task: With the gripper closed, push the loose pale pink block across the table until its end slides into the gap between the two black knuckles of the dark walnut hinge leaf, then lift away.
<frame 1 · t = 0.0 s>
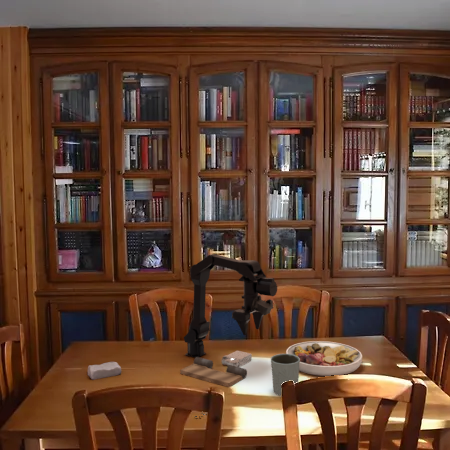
hand: (251, 332, 200), 15 cm above the table, tool pointing down, fingers open, 9 cm apart
stone block: (103, 374, 198), on the table
gray green cup: (285, 392, 179), on the table
walnut leaf: (211, 375, 193), on the table
bowl: (323, 365, 205), on the table
hatchet: (212, 406, 169), on the table
pale pink block: (238, 362, 208), on the table
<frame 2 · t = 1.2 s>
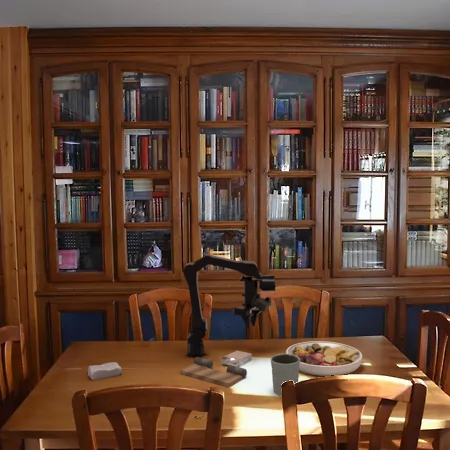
hand: (251, 327, 215), 12 cm above the table, tool pointing down, fingers open, 4 cm apart
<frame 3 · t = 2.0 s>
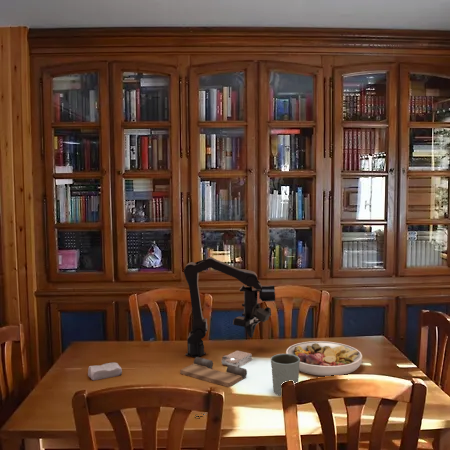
hand: (250, 337, 216), 8 cm above the table, tool pointing down, fingers closed
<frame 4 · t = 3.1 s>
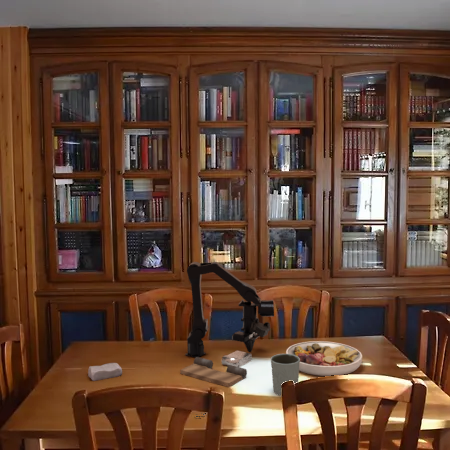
hand: (250, 352, 215), 1 cm above the table, tool pointing down, fingers closed
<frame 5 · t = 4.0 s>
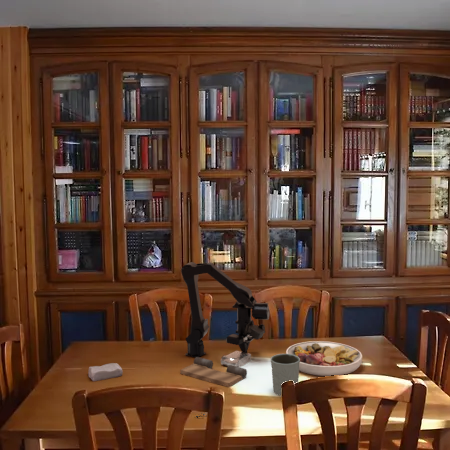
hand: (244, 354, 212), 2 cm above the table, tool pointing down, fingers closed
pale pink block: (237, 362, 207), on the table, touching gripper
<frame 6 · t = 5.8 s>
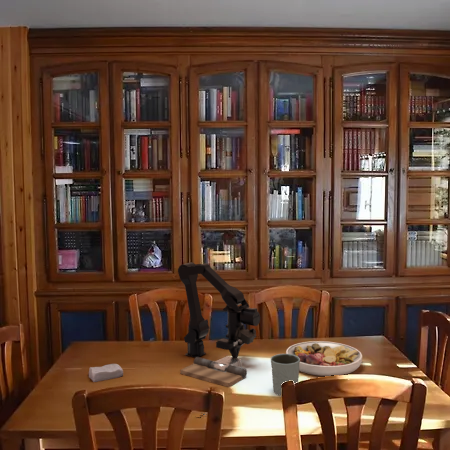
hand: (235, 359, 206), 2 cm above the table, tool pointing down, fingers closed
pale pink block: (227, 368, 202), on the table
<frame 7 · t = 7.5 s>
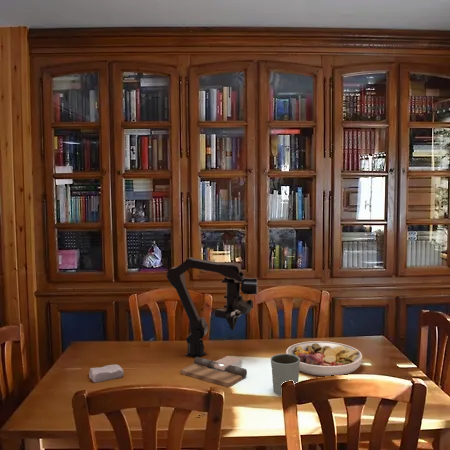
hand: (232, 329, 213), 12 cm above the table, tool pointing down, fingers closed
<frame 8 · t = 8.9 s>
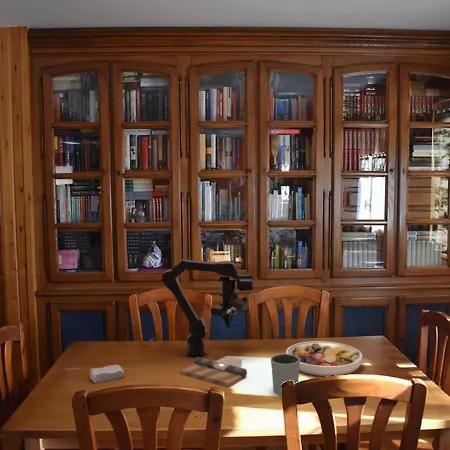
hand: (228, 327, 216), 12 cm above the table, tool pointing down, fingers closed
at the end: pale pink block 0.1 cm from the target spot on the table beside the walnut leaf, on the table; pale pink block tilted 0° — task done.
